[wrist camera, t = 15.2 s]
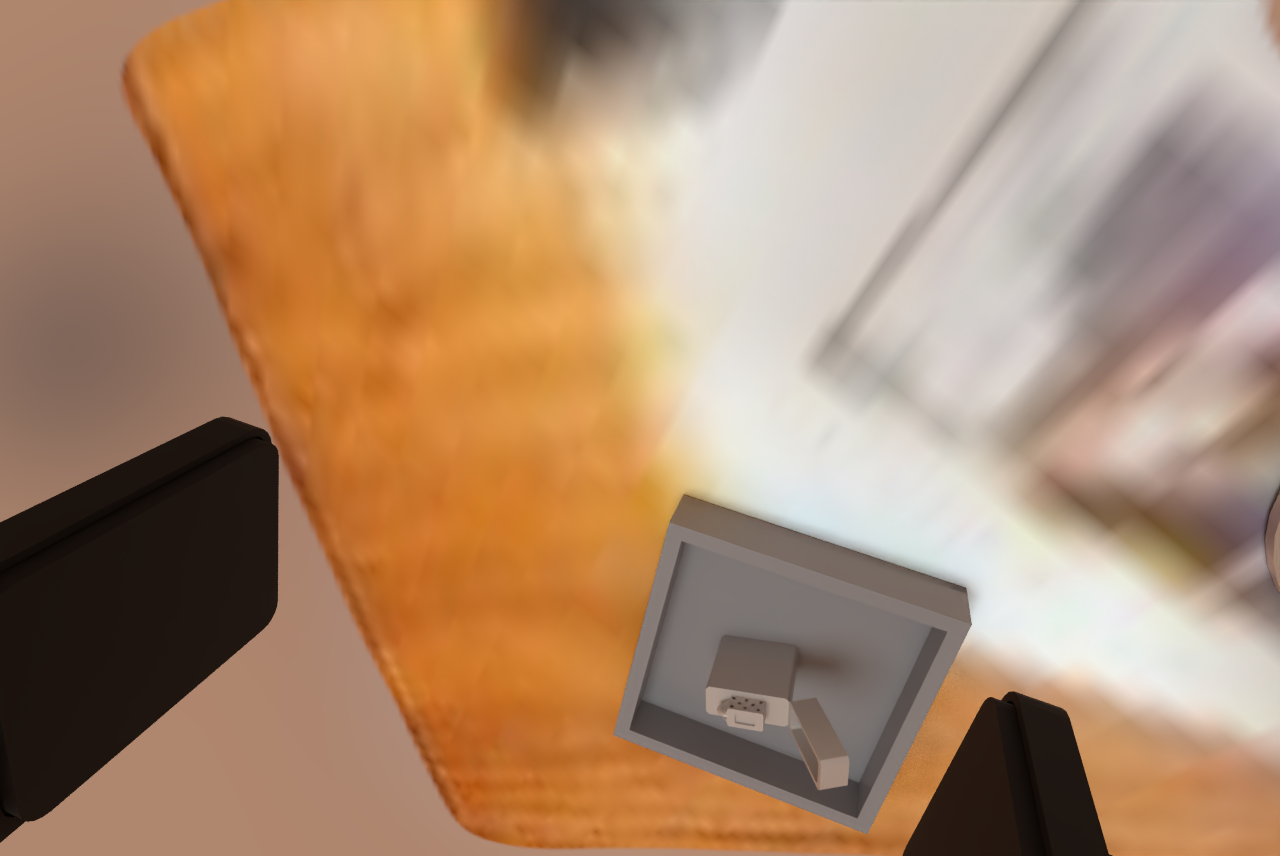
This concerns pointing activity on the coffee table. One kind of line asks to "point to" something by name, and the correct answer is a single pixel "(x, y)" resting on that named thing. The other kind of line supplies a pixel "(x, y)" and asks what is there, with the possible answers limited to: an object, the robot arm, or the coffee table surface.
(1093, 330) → the coffee table surface
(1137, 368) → the coffee table surface
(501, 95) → the coffee table surface
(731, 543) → the tray
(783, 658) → the lighter
